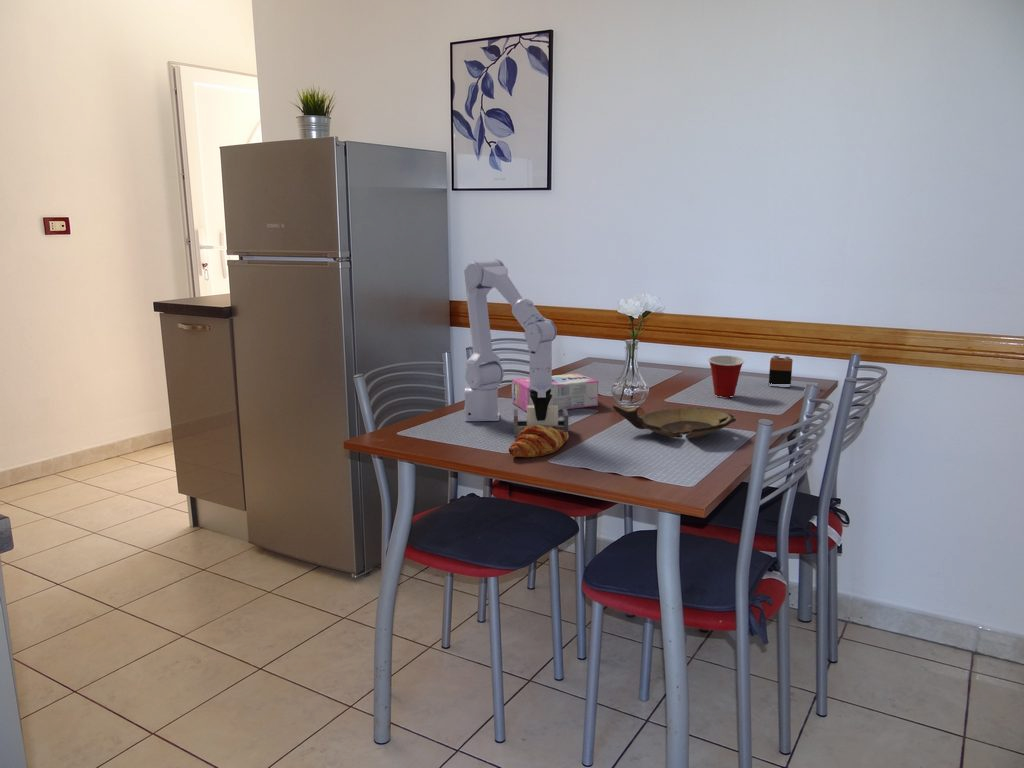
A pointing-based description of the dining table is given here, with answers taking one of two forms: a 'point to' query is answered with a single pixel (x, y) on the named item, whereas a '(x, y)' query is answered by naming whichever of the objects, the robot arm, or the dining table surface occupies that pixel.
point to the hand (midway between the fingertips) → (540, 418)
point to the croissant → (538, 441)
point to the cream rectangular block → (549, 420)
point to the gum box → (560, 392)
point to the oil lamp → (679, 421)
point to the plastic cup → (725, 374)
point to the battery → (780, 370)
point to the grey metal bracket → (561, 425)
